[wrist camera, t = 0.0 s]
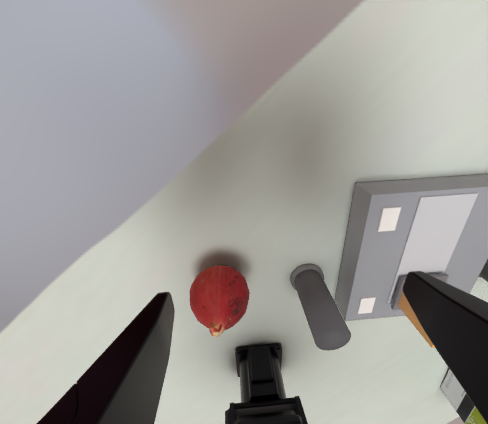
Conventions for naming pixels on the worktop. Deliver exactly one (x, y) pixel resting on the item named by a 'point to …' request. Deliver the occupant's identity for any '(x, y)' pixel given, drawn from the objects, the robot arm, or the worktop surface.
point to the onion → (219, 298)
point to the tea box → (460, 400)
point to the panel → (411, 239)
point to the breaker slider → (403, 304)
